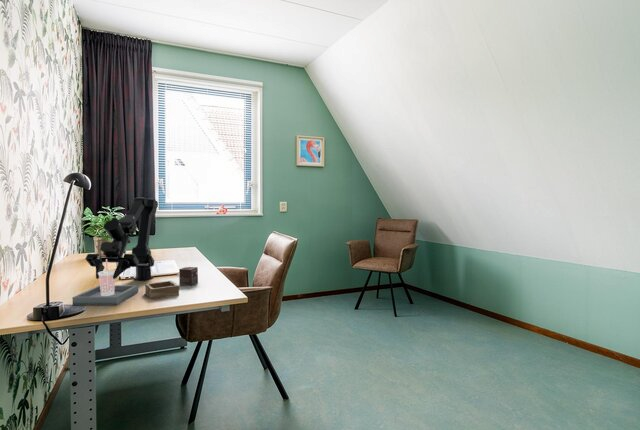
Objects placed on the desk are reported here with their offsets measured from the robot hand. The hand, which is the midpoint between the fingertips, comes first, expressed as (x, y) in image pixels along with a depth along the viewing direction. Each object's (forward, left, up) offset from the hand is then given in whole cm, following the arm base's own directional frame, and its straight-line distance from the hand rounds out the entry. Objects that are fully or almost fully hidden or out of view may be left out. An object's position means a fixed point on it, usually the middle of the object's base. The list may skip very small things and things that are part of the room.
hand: (105, 278), depth 149 cm
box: (+10, +33, -9) cm, 36 cm away
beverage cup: (-1, +1, -7) cm, 7 cm away
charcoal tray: (-1, +1, -8) cm, 8 cm away
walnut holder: (+13, +15, -8) cm, 22 cm away
